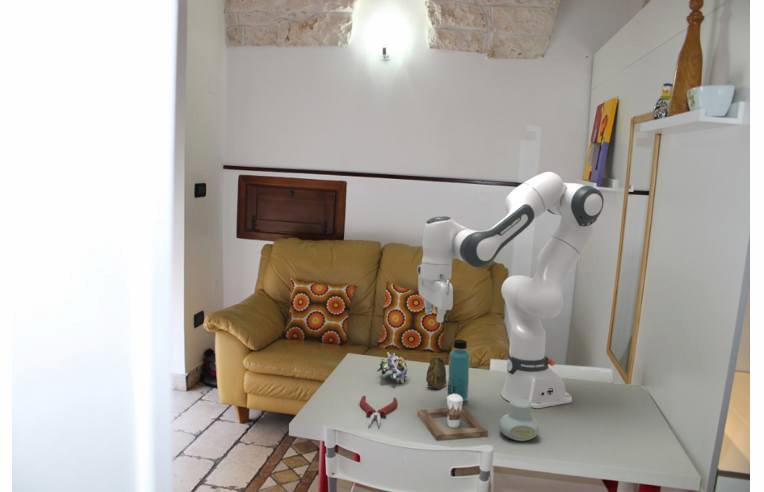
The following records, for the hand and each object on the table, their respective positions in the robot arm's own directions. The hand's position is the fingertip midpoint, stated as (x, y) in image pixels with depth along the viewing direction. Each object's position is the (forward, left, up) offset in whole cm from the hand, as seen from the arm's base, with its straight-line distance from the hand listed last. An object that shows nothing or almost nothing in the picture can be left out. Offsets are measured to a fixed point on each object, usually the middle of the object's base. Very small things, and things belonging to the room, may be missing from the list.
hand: (434, 317), depth 183 cm
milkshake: (-3, +12, -29) cm, 31 cm away
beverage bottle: (-11, -5, -29) cm, 31 cm away
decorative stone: (-9, -19, -29) cm, 36 cm away
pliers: (+18, -1, -30) cm, 34 cm away
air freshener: (-19, +21, -29) cm, 41 cm away
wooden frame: (-3, +11, -29) cm, 31 cm away
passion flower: (+5, -26, -29) cm, 40 cm away
